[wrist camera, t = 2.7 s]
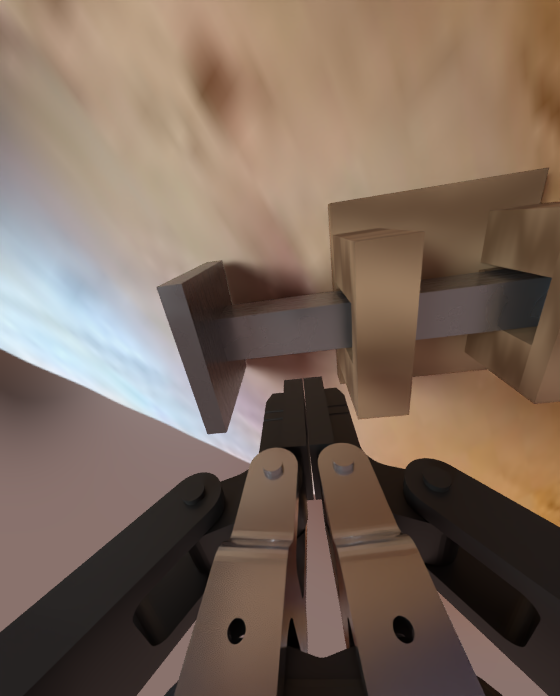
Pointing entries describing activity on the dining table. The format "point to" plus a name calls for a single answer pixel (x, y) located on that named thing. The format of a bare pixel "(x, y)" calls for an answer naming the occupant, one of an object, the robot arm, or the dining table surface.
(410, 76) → the dining table surface
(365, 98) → the dining table surface
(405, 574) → the robot arm
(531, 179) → the bearing stand
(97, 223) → the dining table surface
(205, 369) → the drawbar
